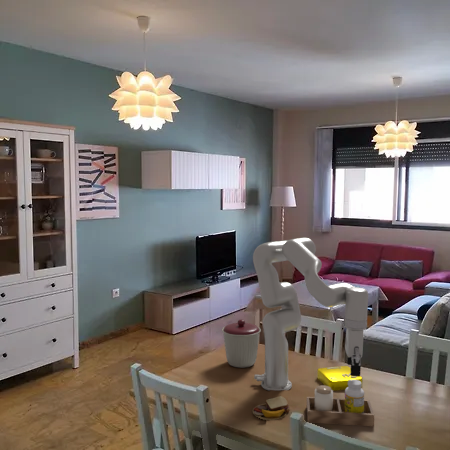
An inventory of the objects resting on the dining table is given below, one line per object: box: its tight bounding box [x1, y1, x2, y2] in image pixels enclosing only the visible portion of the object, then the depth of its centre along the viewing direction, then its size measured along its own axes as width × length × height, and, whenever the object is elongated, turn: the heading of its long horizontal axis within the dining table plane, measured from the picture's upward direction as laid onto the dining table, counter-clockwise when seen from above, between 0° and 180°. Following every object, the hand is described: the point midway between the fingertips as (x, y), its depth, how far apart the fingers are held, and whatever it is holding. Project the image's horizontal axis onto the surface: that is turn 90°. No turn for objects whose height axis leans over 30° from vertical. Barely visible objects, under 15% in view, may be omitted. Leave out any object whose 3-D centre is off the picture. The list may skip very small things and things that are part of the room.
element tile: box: [316, 365, 363, 392], centre depth 204 cm, size 15×15×5 cm
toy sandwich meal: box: [252, 395, 290, 421], centre depth 177 cm, size 12×14×5 cm
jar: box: [314, 384, 334, 412], centre depth 173 cm, size 6×6×10 cm
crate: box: [306, 396, 375, 427], centre depth 172 cm, size 22×12×5 cm, turn 82°
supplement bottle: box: [344, 380, 365, 413], centre depth 171 cm, size 7×7×13 cm
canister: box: [221, 319, 262, 369], centre depth 225 cm, size 18×18×21 cm
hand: (353, 370), depth 171 cm, fingers open, 9 cm apart
